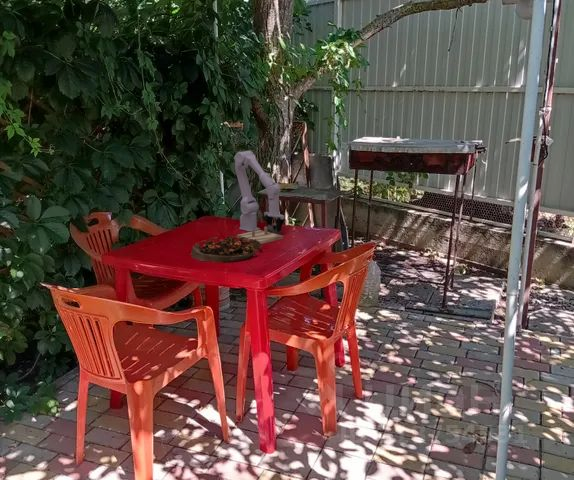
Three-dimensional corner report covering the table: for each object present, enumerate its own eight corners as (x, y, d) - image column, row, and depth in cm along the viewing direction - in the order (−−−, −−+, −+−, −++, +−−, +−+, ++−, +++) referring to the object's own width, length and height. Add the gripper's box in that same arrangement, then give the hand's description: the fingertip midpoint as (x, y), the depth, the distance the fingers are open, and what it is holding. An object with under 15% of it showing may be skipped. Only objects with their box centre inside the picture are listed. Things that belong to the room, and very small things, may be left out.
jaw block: (267, 233, 323) (267, 224, 322) (276, 231, 327) (275, 222, 326) (272, 234, 320) (272, 225, 319) (280, 232, 324) (280, 224, 323)
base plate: (237, 237, 315) (236, 227, 313) (259, 232, 325) (259, 222, 324) (259, 244, 301) (259, 233, 300) (282, 238, 312) (282, 228, 310)
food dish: (250, 243, 308) (250, 229, 306) (271, 261, 278) (271, 245, 276) (183, 248, 295) (183, 233, 293) (198, 268, 266) (198, 251, 264)
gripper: (259, 205, 323) (260, 229, 326) (277, 208, 312) (277, 233, 316) (269, 203, 327) (269, 227, 331) (286, 206, 317) (287, 231, 320)
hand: (274, 230), depth 323 cm, fingers open, 7 cm apart
